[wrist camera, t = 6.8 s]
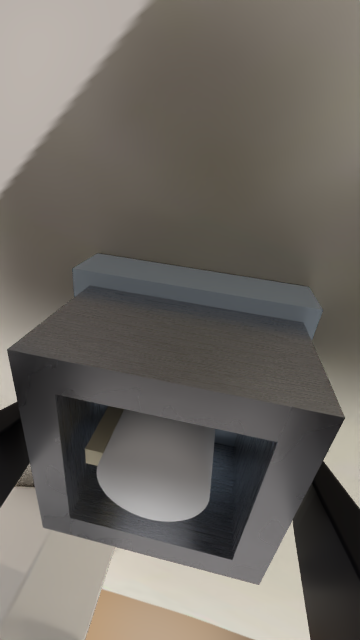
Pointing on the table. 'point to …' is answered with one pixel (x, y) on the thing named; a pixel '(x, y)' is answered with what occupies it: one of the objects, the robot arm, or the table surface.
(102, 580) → the jar
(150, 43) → the table surface
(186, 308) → the collar
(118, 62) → the table surface
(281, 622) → the table surface
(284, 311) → the shaft block
